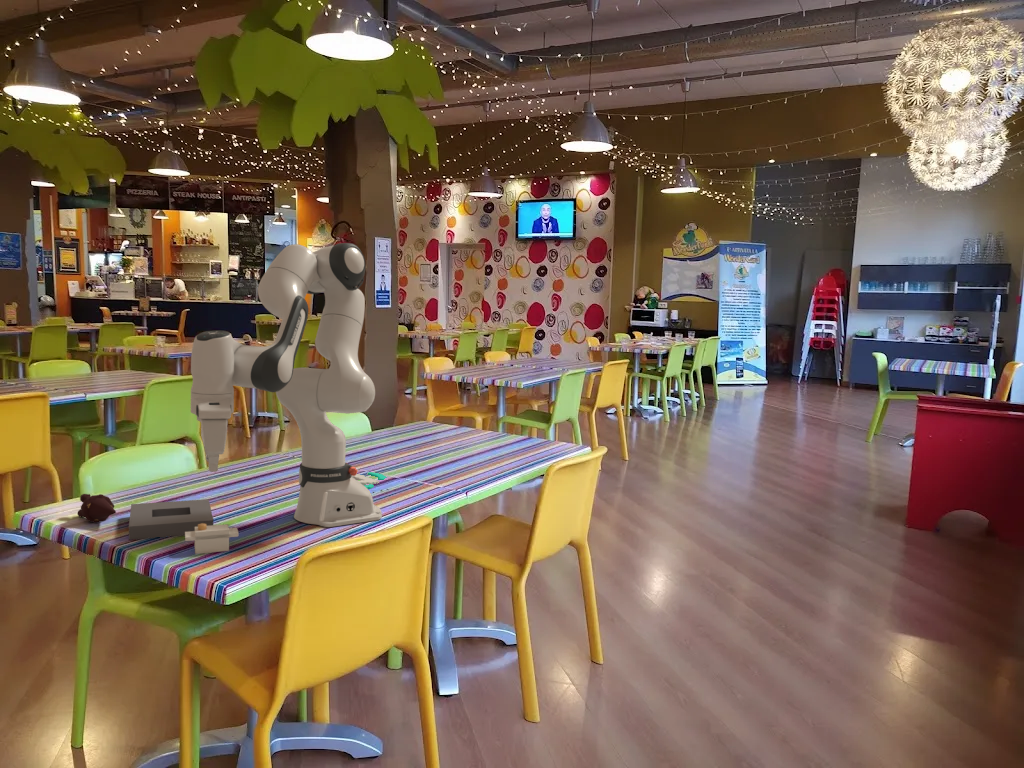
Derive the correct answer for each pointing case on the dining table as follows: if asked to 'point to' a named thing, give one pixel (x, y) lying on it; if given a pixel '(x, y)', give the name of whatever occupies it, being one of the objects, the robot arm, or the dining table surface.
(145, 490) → the dining table surface
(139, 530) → the grey board with hole
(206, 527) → the servo
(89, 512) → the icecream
